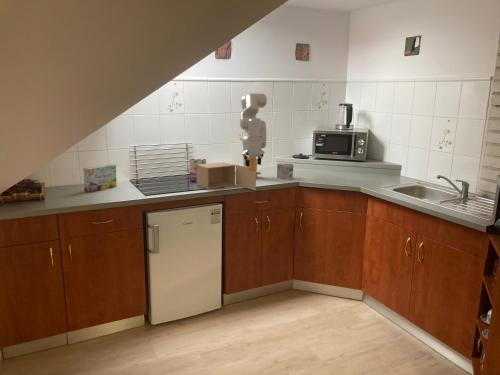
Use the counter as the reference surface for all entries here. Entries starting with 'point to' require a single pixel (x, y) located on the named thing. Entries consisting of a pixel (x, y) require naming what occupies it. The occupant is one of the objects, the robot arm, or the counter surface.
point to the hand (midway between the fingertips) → (253, 165)
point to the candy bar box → (195, 167)
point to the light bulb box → (285, 170)
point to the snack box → (99, 177)
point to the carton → (215, 175)
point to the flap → (247, 174)
